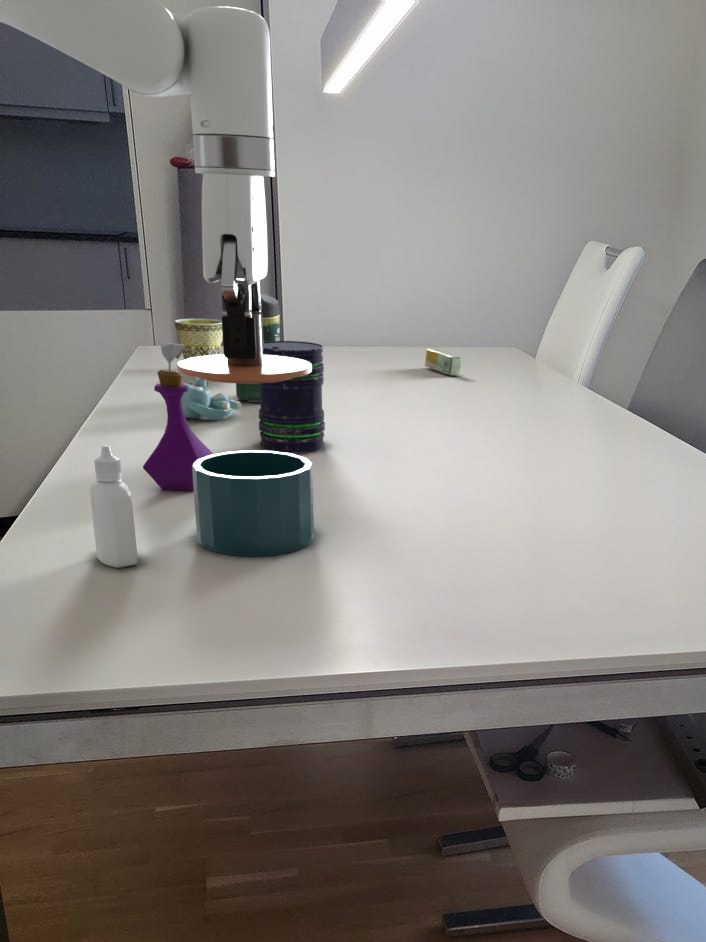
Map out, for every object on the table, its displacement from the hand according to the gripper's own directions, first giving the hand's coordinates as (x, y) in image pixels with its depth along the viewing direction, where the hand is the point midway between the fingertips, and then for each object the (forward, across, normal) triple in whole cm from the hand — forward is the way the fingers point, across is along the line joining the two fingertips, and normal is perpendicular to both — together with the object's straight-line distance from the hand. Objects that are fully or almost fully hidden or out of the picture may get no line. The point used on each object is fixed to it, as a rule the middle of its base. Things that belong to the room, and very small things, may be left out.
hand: (244, 353), depth 106 cm
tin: (+20, -2, 0) cm, 21 cm away
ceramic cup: (+21, -116, -30) cm, 122 cm away
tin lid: (+2, 0, 0) cm, 2 cm away
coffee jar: (+21, -86, -13) cm, 89 cm away
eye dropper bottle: (+21, +7, -13) cm, 25 cm away
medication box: (+21, -125, +20) cm, 128 cm away
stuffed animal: (+21, -68, -19) cm, 73 cm away
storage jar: (+21, -48, -2) cm, 52 cm away
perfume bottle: (+21, -22, -13) cm, 33 cm away
